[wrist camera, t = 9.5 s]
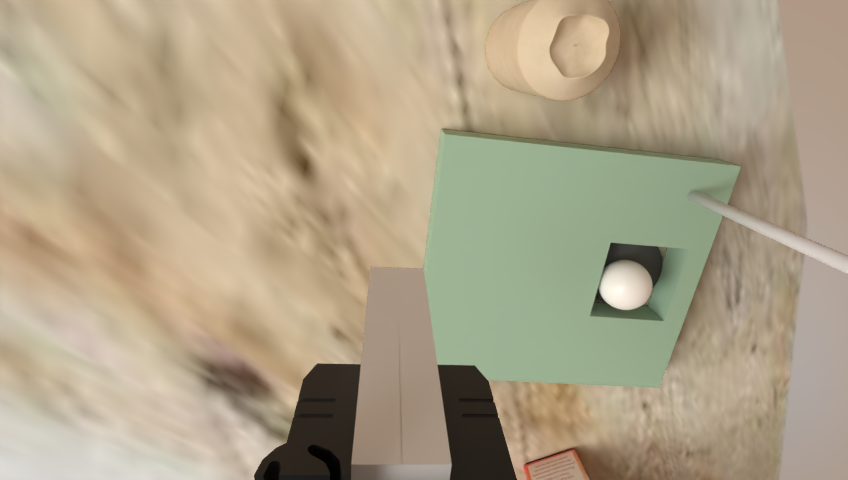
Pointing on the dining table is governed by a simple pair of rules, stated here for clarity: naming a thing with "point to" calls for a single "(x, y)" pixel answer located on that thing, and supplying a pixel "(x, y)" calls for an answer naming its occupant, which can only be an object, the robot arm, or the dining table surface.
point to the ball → (625, 284)
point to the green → (571, 255)
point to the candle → (554, 47)
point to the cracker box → (557, 468)
